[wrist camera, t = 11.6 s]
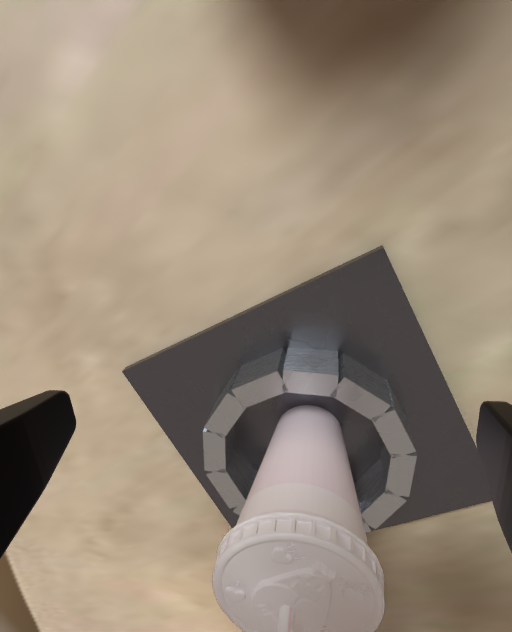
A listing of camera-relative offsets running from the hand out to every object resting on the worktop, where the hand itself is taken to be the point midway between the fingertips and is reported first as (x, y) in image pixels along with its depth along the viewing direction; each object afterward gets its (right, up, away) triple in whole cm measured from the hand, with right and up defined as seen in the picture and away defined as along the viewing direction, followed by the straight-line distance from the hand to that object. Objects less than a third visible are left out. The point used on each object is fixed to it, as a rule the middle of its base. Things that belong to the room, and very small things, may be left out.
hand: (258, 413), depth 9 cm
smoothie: (+3, -4, +15) cm, 16 cm away
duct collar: (+3, -4, +15) cm, 16 cm away
